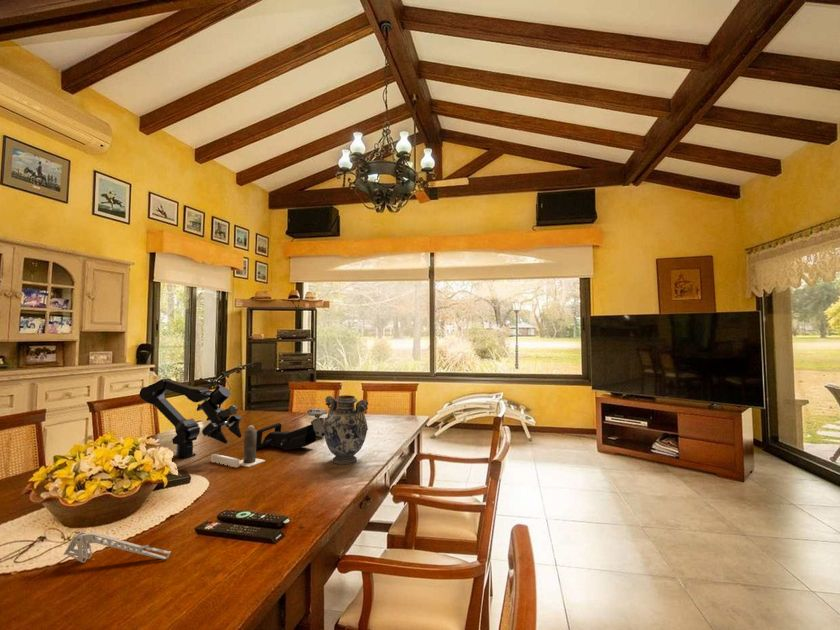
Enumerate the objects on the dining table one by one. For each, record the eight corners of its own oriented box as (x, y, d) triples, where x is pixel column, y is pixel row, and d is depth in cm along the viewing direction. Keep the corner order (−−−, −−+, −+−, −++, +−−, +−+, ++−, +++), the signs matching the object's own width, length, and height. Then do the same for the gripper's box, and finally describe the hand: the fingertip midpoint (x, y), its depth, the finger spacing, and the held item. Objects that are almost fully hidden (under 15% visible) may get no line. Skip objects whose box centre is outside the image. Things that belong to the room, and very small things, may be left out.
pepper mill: (241, 463, 170) (243, 426, 170) (245, 459, 175) (247, 424, 175) (253, 463, 170) (254, 426, 171) (257, 459, 175) (258, 424, 176)
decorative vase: (376, 457, 183) (377, 395, 184) (356, 470, 166) (357, 401, 167) (334, 451, 190) (335, 392, 191) (311, 464, 173) (313, 398, 174)
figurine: (307, 434, 221) (308, 406, 222) (328, 435, 221) (329, 407, 222) (302, 438, 212) (303, 409, 213) (324, 439, 212) (325, 410, 212)
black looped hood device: (306, 446, 183) (295, 414, 185) (257, 465, 189) (247, 434, 191) (324, 437, 199) (315, 408, 201) (279, 454, 205) (270, 426, 208)
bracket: (72, 549, 99) (94, 511, 100) (153, 586, 100) (173, 548, 101) (62, 556, 96) (85, 517, 97) (145, 594, 97) (167, 555, 98)
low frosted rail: (211, 461, 172) (211, 454, 172) (214, 460, 173) (214, 453, 174) (236, 467, 166) (236, 460, 166) (239, 466, 167) (239, 459, 167)
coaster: (233, 463, 170) (233, 462, 170) (250, 457, 178) (250, 457, 178) (248, 467, 166) (248, 466, 166) (265, 461, 174) (265, 460, 174)
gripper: (210, 403, 167) (232, 433, 164) (239, 396, 185) (259, 423, 183) (192, 421, 168) (213, 450, 166) (223, 412, 187) (242, 438, 184)
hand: (233, 440), depth 175 cm, fingers open, 9 cm apart
